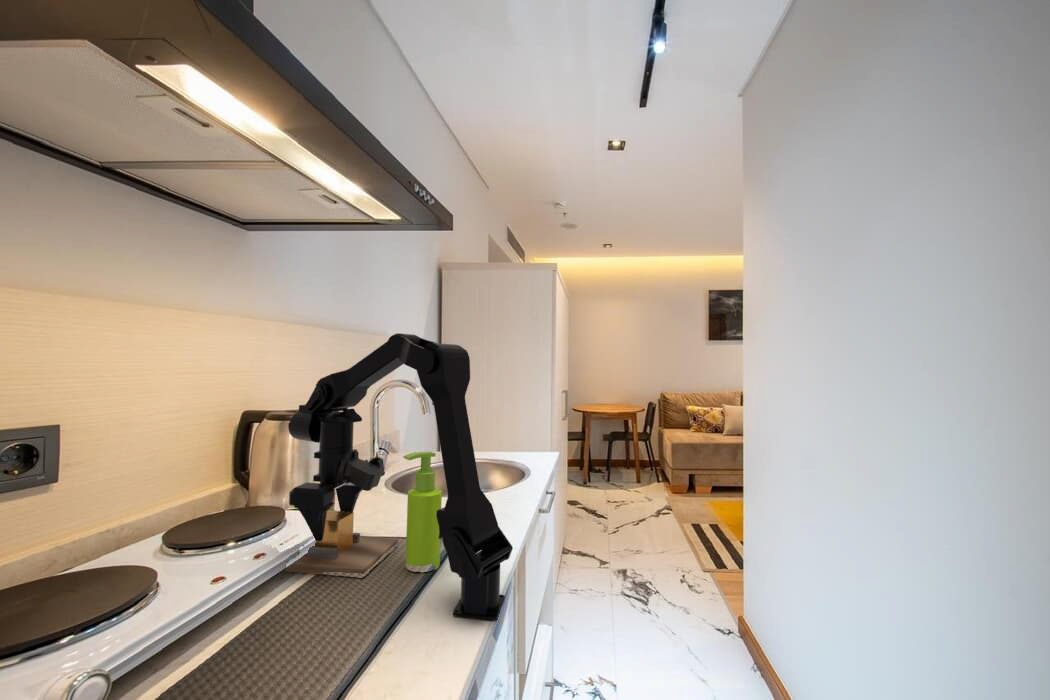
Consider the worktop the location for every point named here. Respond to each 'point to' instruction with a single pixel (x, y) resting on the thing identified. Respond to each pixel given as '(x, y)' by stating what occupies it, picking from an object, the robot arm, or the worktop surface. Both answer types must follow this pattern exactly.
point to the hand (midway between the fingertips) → (333, 531)
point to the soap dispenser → (423, 515)
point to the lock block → (337, 530)
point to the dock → (344, 556)
